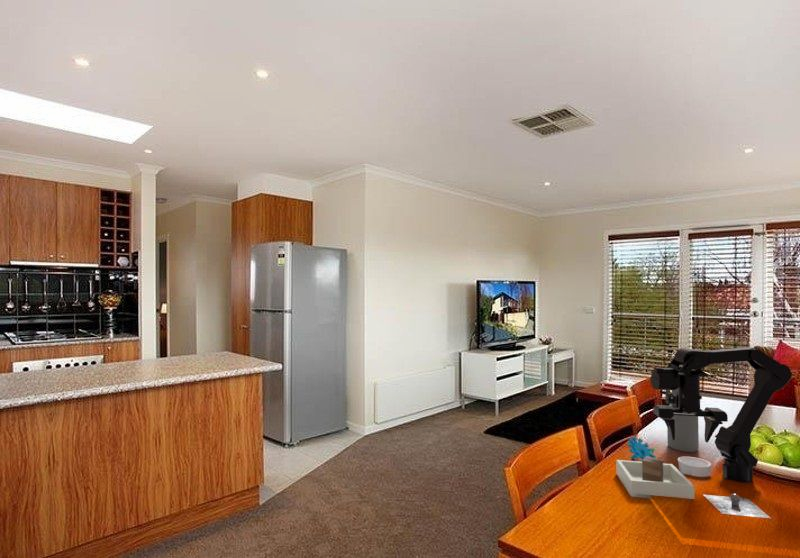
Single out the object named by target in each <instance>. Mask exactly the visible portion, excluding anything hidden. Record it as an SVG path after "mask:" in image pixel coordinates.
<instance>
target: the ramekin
mask: <svg viewBox="0 0 800 558" xmlns="http://www.w3.org/2000/svg"><path fill="white" fill-rule="evenodd" d="M677 463H678V470H679V471H680V472H681V473H682V474H683V475H689V476H693V477H699V478H706V477H710V473H711V467H712V464H711V462H710V461H708V460H705V459H703V458H699V457H695V456H694V457H693V456H688V455H687V456H679V457H678V458H677Z"/></svg>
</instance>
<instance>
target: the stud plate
mask: <svg viewBox="0 0 800 558" xmlns="http://www.w3.org/2000/svg"><path fill="white" fill-rule="evenodd" d="M703 496H704V497H705V499H707V501H709V503H711V504H712V505H713V506H714V507H715V508H716V509H717V510H718V511H719V512H720V513H721V515H732V516H741V517H751V518H761V519H763V518H764V519H771V516H769V515H768V514H767V513H766V512H764V510H762V508H760V507H759V506H758V505H756V504H755V503H754V502H753V501H751V499H749V498H745V497H741V496H739V494H736V493H731V494H730V495H729V496H724V495H723V496H722V495H713V494H712V495H711V494H703Z"/></svg>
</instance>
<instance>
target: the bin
mask: <svg viewBox="0 0 800 558" xmlns="http://www.w3.org/2000/svg"><path fill="white" fill-rule="evenodd" d="M616 475H617V477H618V479H619V480H620V482H621V484H622V485H623V486H624V488H625V490H627V492H628V494H629V496H630V497H631V498H639V499H640V498H643V499H652V500H654V498H653V496H654V497H655V496H657V497H669V498H679V499H680V498H681V499H688V500H689V499H690V500H695V485H694V484H693V483H692V482H691V481H690V480H689V479H688V478H687V477H686V476H685V474H682V473H681V472H680V471H679V468H677V467H676V466H675V465H674V464H673V463H664V462H663V482H658V481H646V480H643V479H642V462H640V461H637V460H624V459H623V460H622V459H616Z"/></svg>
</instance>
